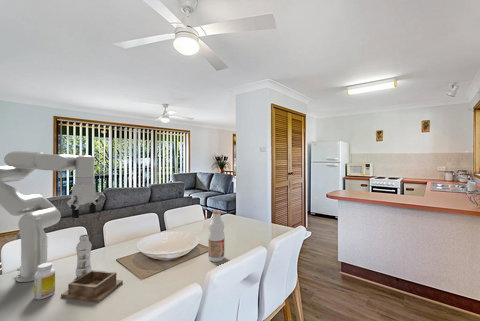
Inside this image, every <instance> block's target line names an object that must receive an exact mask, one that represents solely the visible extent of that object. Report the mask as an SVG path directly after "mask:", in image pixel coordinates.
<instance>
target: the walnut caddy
mask: <svg viewBox="0 0 480 321" xmlns="http://www.w3.org/2000/svg"><path fill="white" fill-rule="evenodd" d="M123 282H124V281H123V280H121V279H117V272H113V271H105V270H94V269H92V270H91V271H90V272H88V273H86V274H84V275H83V276H81V277H79V278H78V277H77V278H76V279H74V280H73V281H71V282H69V283H68V288H67V290H66V291H64V292H62V293H61V294H60V298H65V299H72V300H79V301H88V302H95V303H100V302H101V301H102V300H103V299H105V298H106V297H107V296H109V295H110V294H111V293H112V292H114V291H115V290H116V289H118V287H120V286H121V285H122V284H123Z"/></svg>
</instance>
